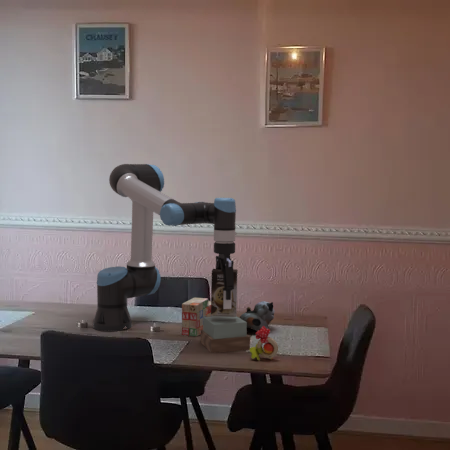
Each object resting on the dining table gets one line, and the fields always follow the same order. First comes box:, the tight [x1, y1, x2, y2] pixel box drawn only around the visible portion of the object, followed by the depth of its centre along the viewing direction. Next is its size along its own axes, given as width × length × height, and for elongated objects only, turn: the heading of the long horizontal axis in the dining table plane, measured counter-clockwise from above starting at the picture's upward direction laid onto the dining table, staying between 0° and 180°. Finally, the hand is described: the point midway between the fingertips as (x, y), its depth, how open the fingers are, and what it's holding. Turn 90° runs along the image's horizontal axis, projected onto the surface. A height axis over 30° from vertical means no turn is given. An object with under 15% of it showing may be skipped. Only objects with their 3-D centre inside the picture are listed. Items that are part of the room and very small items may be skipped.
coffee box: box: [210, 268, 238, 317], centre depth 215 cm, size 9×6×16 cm
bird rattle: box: [249, 326, 279, 361], centre depth 202 cm, size 6×11×9 cm
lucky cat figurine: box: [239, 300, 275, 332], centre depth 239 cm, size 15×12×14 cm
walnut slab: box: [200, 330, 251, 354], centre depth 217 cm, size 14×14×5 cm
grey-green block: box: [203, 315, 248, 339], centre depth 216 cm, size 12×12×5 cm
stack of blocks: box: [181, 297, 213, 337], centre depth 240 cm, size 21×6×12 cm, turn 160°
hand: (223, 306), depth 215 cm, fingers closed on coffee box, 8 cm apart
